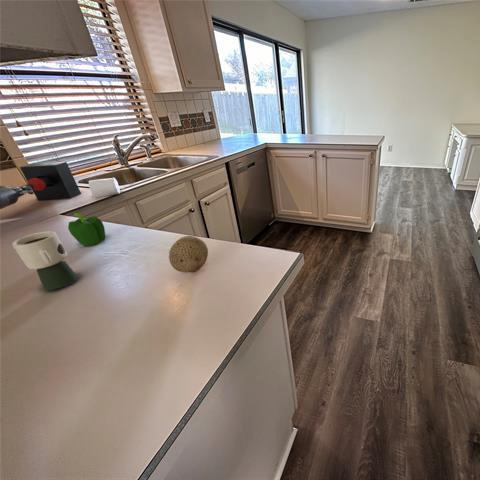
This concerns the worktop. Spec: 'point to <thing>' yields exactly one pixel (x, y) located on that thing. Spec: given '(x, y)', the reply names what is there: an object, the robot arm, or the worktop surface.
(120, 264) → the worktop surface
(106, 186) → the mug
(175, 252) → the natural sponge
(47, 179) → the knob
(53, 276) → the character mug
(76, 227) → the bell pepper
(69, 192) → the control box
